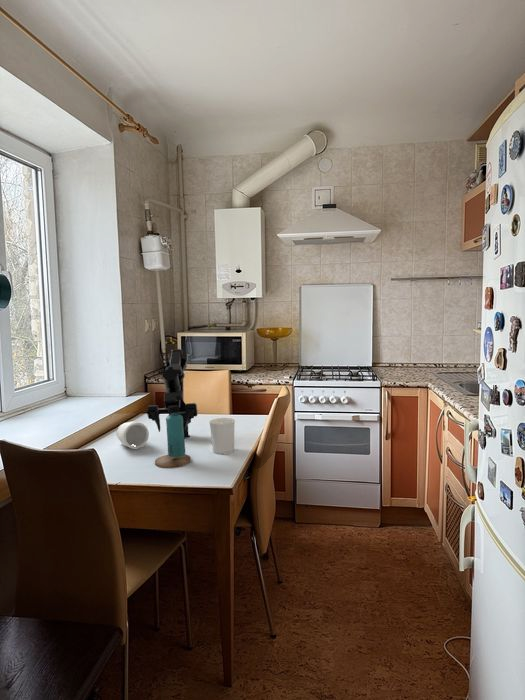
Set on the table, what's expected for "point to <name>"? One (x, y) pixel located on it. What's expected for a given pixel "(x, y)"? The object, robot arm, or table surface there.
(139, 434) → the jar
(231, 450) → the white cup
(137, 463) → the table surface
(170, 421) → the beverage bottle
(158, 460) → the walnut coaster
